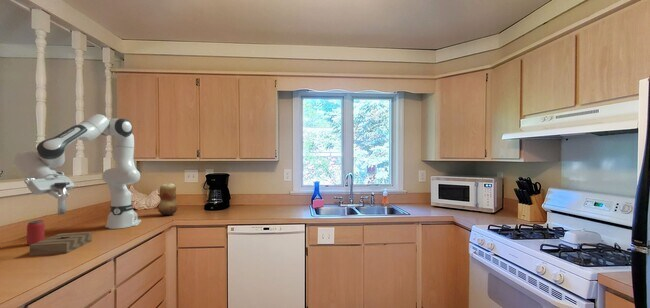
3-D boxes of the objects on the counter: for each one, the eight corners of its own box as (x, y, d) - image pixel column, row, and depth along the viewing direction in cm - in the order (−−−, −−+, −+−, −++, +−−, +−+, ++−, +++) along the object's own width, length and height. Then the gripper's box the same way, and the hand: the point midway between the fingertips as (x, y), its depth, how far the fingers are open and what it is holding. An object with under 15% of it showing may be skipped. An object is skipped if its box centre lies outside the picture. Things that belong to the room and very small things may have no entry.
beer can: (43, 241, 154) (43, 219, 154) (45, 243, 150) (45, 221, 150) (26, 244, 149) (26, 221, 149) (27, 246, 145) (27, 223, 145)
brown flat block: (59, 242, 151) (59, 233, 151) (91, 240, 154) (91, 231, 154) (29, 255, 131) (29, 245, 132) (66, 253, 135) (66, 243, 135)
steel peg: (59, 213, 144) (59, 182, 144) (71, 212, 145) (72, 182, 145) (51, 215, 138) (51, 183, 138) (64, 215, 139) (64, 183, 139)
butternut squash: (155, 217, 212) (155, 184, 212) (161, 213, 225) (161, 183, 225) (175, 216, 215) (175, 184, 215) (180, 212, 228) (180, 182, 228)
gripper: (27, 174, 131) (48, 195, 131) (65, 172, 151) (84, 189, 152) (17, 183, 131) (38, 204, 131) (57, 180, 151) (75, 198, 151)
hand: (63, 196), depth 142 cm, fingers closed on steel peg, 3 cm apart
